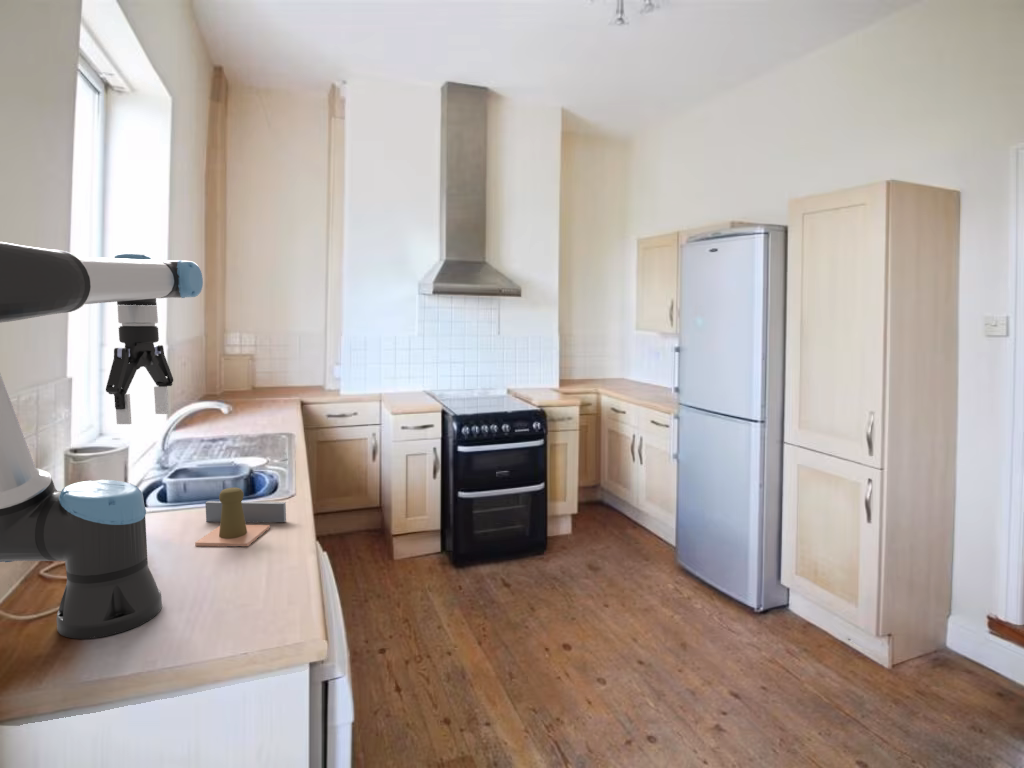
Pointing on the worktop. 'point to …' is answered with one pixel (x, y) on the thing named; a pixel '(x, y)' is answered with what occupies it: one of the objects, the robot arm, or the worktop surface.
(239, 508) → the cork
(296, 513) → the worktop surface
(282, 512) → the low wall
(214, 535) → the terracotta tile
